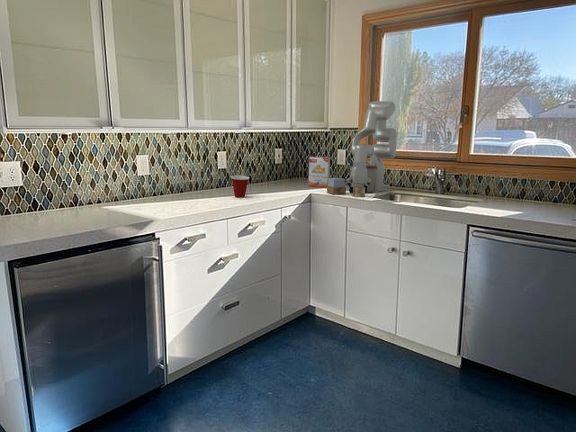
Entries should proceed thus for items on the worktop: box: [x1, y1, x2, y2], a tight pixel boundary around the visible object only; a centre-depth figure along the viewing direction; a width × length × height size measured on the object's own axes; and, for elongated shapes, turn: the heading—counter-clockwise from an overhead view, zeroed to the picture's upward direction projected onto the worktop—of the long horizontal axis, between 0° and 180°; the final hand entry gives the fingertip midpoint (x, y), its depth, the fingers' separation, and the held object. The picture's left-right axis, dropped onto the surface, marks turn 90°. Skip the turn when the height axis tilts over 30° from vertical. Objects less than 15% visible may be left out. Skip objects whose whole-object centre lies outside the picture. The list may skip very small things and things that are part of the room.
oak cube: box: [350, 186, 366, 198], centre depth 272 cm, size 6×6×6 cm
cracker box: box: [307, 156, 331, 188], centre depth 312 cm, size 14×6×21 cm, turn 73°
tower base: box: [326, 186, 347, 196], centre depth 280 cm, size 9×9×5 cm
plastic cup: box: [230, 175, 250, 199], centre depth 255 cm, size 11×11×12 cm
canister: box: [350, 160, 378, 194], centre depth 291 cm, size 18×18×21 cm
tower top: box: [328, 177, 346, 187], centre depth 280 cm, size 8×8×5 cm
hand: (358, 192), depth 272 cm, fingers open, 9 cm apart
